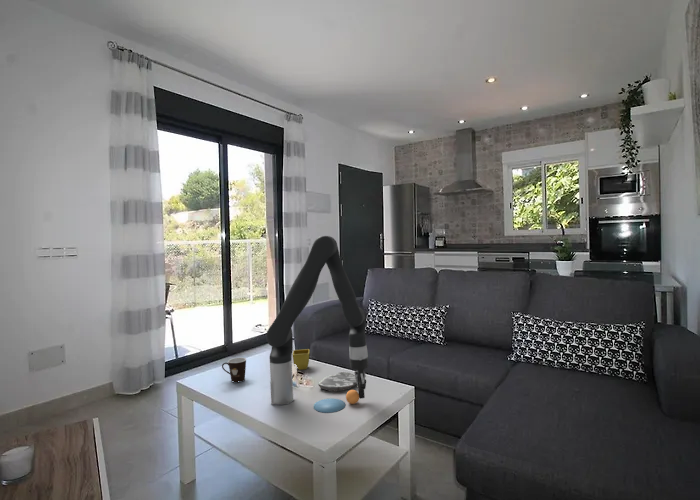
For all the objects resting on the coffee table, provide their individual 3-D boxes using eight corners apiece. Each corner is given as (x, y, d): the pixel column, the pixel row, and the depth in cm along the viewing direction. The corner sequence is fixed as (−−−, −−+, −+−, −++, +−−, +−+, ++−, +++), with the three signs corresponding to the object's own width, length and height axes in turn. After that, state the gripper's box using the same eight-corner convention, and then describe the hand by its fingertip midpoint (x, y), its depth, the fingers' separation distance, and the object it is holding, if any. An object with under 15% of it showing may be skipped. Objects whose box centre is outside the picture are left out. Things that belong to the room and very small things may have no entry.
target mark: (314, 414, 148) (314, 413, 148) (312, 400, 161) (312, 400, 161) (347, 410, 150) (347, 410, 150) (342, 397, 163) (342, 397, 163)
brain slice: (343, 397, 164) (343, 390, 164) (312, 390, 174) (312, 383, 173) (367, 382, 180) (366, 376, 180) (337, 376, 190) (337, 370, 190)
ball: (359, 406, 155) (346, 406, 154) (357, 400, 160) (344, 399, 159) (361, 394, 154) (347, 393, 153) (358, 387, 159) (345, 387, 159)
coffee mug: (250, 378, 190) (249, 358, 190) (237, 384, 183) (236, 364, 183) (234, 375, 196) (234, 355, 196) (221, 380, 189) (220, 360, 189)
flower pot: (294, 366, 207) (293, 349, 207) (310, 365, 208) (309, 348, 208) (293, 371, 198) (292, 354, 198) (309, 370, 199) (309, 353, 199)
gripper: (347, 353, 163) (350, 393, 163) (352, 362, 150) (355, 405, 150) (364, 350, 164) (367, 390, 165) (371, 359, 151) (374, 402, 151)
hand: (361, 397), depth 157 cm, fingers closed
